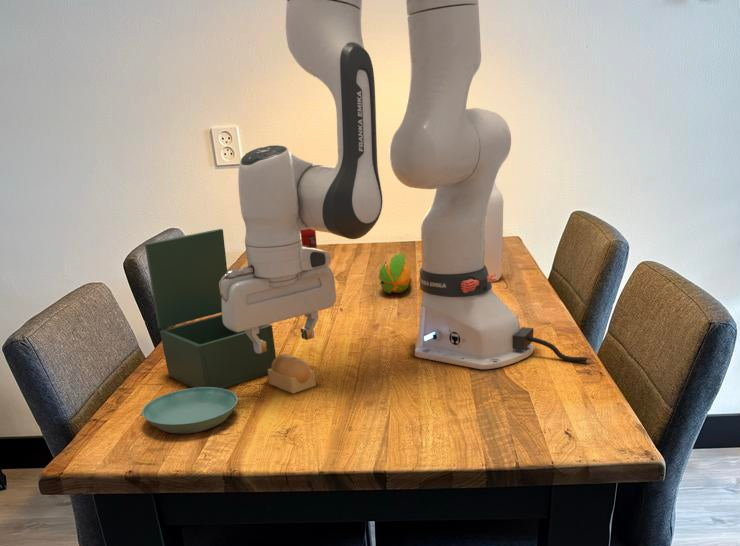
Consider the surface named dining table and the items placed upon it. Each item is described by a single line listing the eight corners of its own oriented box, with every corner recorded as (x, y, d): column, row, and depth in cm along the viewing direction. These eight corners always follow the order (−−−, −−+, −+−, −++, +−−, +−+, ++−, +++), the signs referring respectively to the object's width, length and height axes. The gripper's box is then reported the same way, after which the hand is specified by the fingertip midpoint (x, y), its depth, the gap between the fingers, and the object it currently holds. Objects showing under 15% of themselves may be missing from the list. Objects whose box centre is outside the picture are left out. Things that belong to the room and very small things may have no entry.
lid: (223, 229, 136) (208, 224, 139) (146, 244, 128) (133, 238, 131) (231, 309, 144) (217, 303, 147) (160, 328, 136) (147, 321, 139)
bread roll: (317, 386, 131) (314, 358, 129) (294, 394, 129) (291, 366, 126) (290, 375, 137) (287, 348, 134) (267, 383, 134) (263, 355, 132)
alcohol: (492, 284, 182) (495, 143, 167) (458, 281, 186) (457, 143, 171) (507, 275, 188) (511, 138, 173) (474, 273, 192) (474, 139, 177)
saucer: (179, 398, 130) (176, 383, 129) (257, 406, 125) (254, 390, 124) (125, 434, 119) (121, 418, 117) (208, 444, 113) (205, 428, 112)
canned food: (284, 267, 210) (280, 225, 205) (312, 263, 213) (308, 221, 207) (294, 273, 204) (290, 229, 199) (322, 268, 207) (319, 224, 201)
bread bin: (277, 371, 139) (272, 325, 135) (206, 394, 131) (198, 346, 127) (237, 355, 148) (230, 311, 144) (168, 375, 141) (159, 330, 136)
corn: (376, 264, 173) (384, 245, 190) (376, 298, 177) (384, 277, 194) (410, 265, 172) (415, 246, 189) (409, 300, 176) (413, 278, 193)
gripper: (228, 276, 115) (240, 365, 122) (338, 251, 126) (344, 335, 133) (207, 269, 120) (220, 356, 127) (315, 246, 130) (322, 327, 137)
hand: (284, 345), depth 130 cm, fingers open, 8 cm apart
